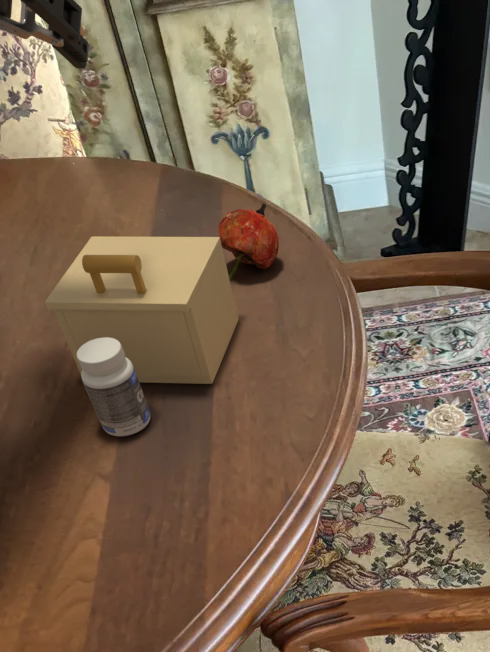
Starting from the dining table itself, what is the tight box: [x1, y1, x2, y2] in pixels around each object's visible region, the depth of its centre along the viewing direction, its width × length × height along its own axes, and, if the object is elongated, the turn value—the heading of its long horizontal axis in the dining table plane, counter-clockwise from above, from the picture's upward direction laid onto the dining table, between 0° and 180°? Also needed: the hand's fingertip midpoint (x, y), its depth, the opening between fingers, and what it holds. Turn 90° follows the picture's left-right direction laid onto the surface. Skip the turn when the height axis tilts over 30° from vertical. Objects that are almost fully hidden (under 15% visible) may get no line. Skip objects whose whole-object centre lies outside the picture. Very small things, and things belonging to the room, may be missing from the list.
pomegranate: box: [217, 202, 280, 280], centre depth 93 cm, size 7×7×10 cm
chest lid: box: [44, 235, 221, 311], centre depth 76 cm, size 13×14×4 cm
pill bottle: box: [77, 337, 151, 437], centre depth 73 cm, size 5×5×8 cm
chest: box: [52, 245, 240, 385], centre depth 81 cm, size 12×14×9 cm
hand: (37, 55), depth 67 cm, fingers open, 8 cm apart
